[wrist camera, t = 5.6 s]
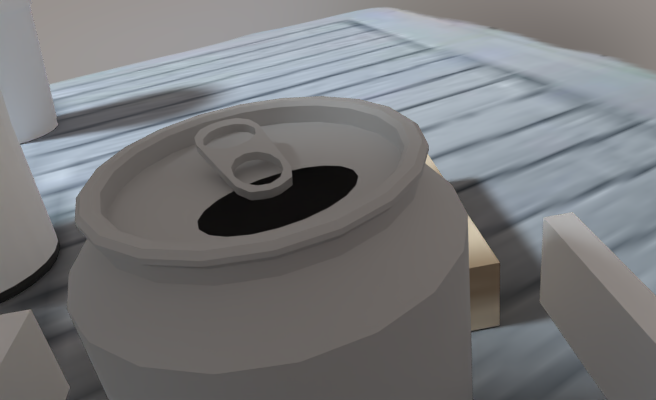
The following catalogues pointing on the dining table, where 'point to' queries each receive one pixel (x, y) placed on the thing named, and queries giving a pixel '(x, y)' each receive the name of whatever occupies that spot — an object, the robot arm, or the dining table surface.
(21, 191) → the mug
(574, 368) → the dining table surface
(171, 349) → the can
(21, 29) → the foam cup
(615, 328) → the robot arm
